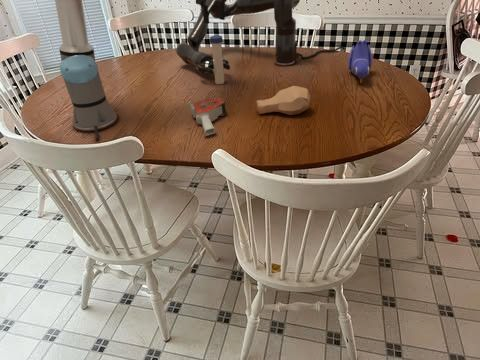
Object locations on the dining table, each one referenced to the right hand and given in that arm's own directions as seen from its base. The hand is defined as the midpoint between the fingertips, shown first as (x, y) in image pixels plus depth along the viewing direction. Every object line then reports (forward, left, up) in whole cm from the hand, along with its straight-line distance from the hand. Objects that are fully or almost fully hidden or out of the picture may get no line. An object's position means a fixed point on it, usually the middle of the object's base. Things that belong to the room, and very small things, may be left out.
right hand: (220, 69), depth 155 cm
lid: (0, -2, +13) cm, 13 cm away
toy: (-49, +36, -6) cm, 61 cm away
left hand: (0, -2, +20) cm, 20 cm away
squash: (-2, +40, -6) cm, 41 cm away
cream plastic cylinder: (0, -2, -6) cm, 6 cm away
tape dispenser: (+24, +28, -6) cm, 38 cm away
